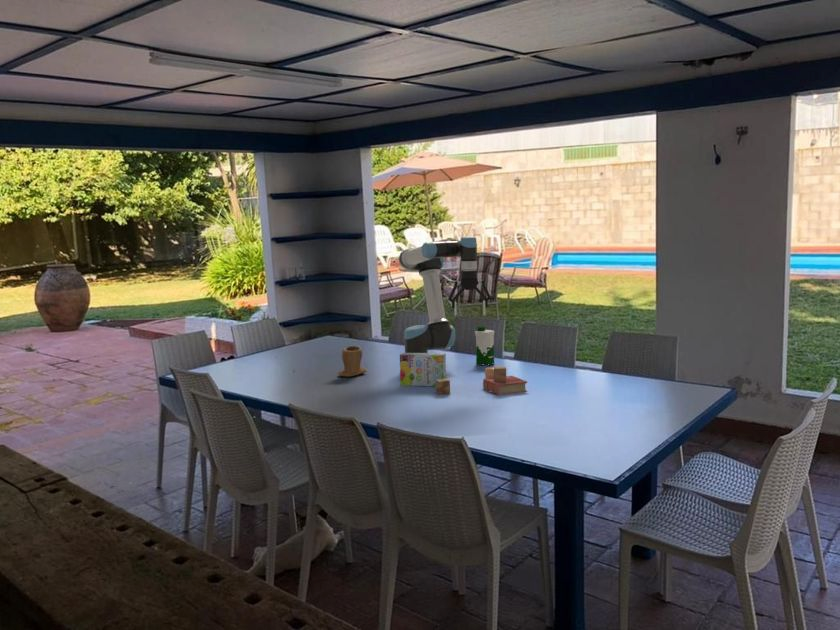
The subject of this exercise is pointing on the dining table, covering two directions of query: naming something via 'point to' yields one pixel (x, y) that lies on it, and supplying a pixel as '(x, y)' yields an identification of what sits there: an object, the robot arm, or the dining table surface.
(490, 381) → the book
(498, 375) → the block
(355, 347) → the orange vase
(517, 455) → the dining table surface
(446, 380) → the block
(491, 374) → the tan rounded glossy cylinder
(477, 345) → the milk carton
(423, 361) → the snack box
